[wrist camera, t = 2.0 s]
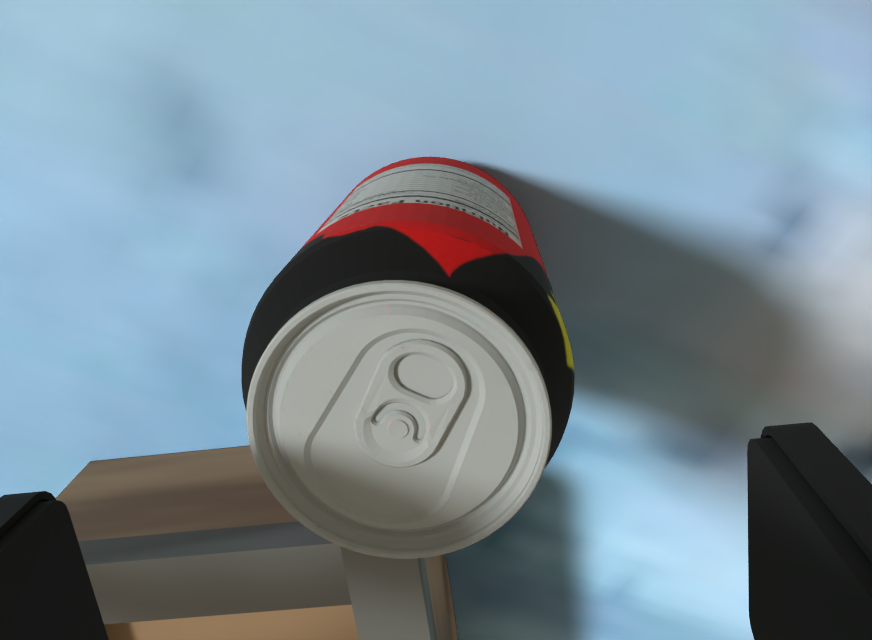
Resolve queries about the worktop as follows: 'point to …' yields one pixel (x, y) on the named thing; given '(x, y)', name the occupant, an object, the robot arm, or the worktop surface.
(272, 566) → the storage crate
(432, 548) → the beverage can
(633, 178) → the worktop surface
